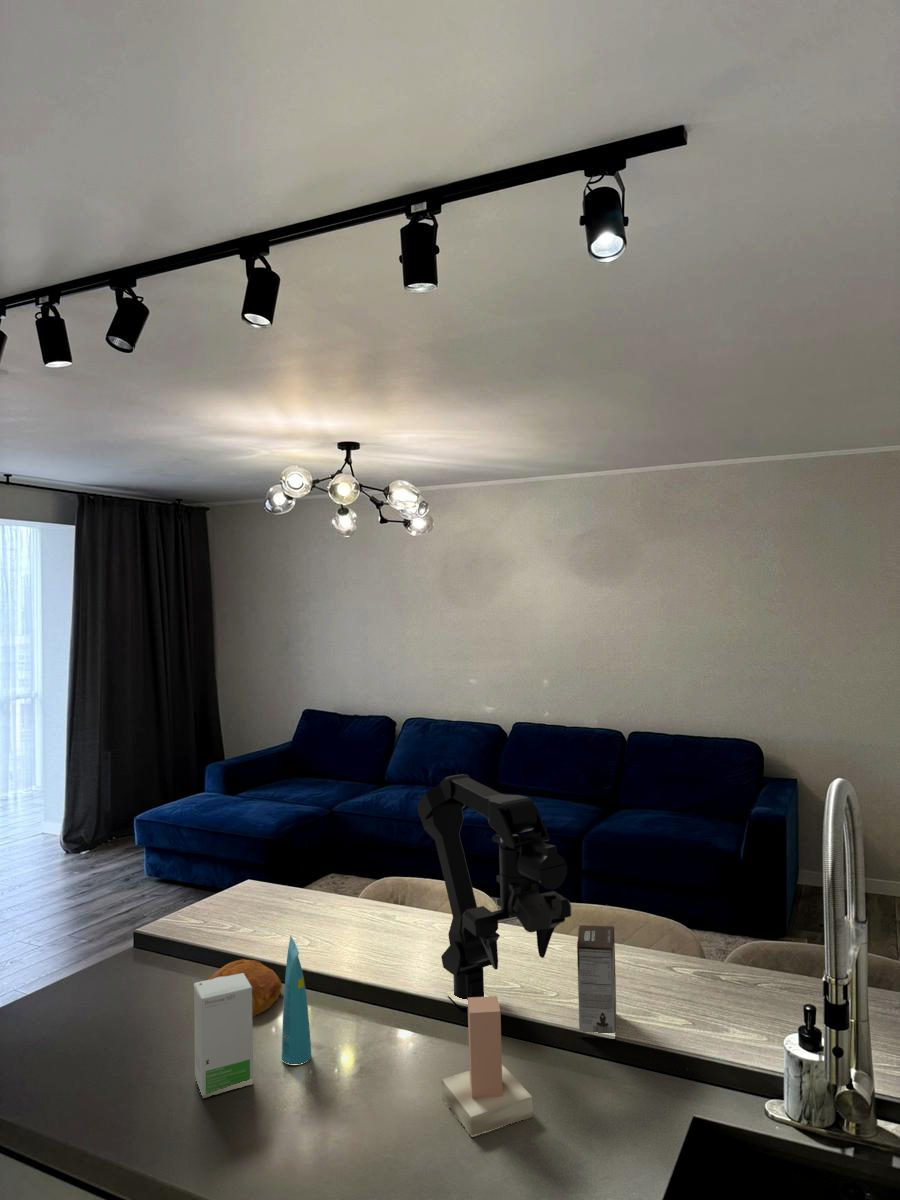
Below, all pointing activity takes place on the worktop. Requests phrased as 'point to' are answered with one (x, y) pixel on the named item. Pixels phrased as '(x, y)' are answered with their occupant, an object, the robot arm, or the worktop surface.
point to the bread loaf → (255, 982)
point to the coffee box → (596, 979)
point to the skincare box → (223, 1032)
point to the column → (485, 1047)
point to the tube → (295, 1012)
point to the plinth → (486, 1103)
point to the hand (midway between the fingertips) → (518, 962)
